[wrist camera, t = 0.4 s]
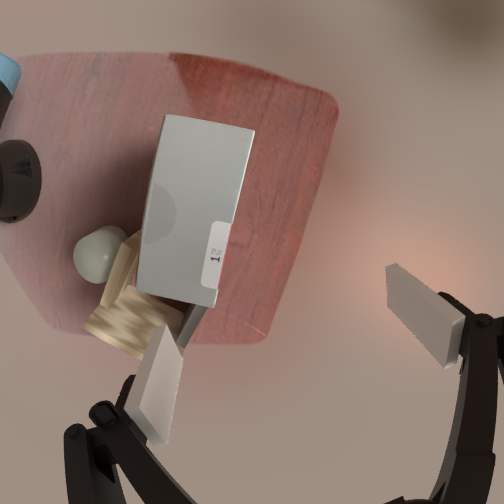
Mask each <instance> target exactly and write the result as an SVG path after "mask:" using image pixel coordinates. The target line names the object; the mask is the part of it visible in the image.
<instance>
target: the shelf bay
mask: <svg viewBox="0 0 504 504" xmlns="http://www.w3.org/2000/svg"><path fill="white" fill-rule="evenodd" d="M140 234H141V229H140V230H139V231H137V232H136V233H135V234H133V235H132V236H130V237H129V238H128V239H126V240H125V241H124V242H122V243H121V246H120V248H119V251H118V254H117V256H116V259H115V261H114V264H113V267H112V270H111V272H110V275H109V278H108V281H107V284H106V287H105V290H104V293H103V296H102V299H101V302H100V304H99V306H98V307H97V308H96V309H95V310H94V311H93V312H92V314H91V315H90V316H89V317H88V318H87V319H86V321H85V322H84V326H83V329H85V330H87V331H88V332H90V333H92V334H93V335H95V336H97V337H98V338H100V339H102V340H104V341H105V342H107V343H109V344H111V345H113V346H114V347H116V348H118V349H120V350H122V351H124V352H126V353H127V354H129V355H131V356H133V357H135V358H137V359H139V360H141V361H142V358H143V356H144V353H145V350H146V348H147V345H148V343H149V341H150V338H151V336H152V333H153V331H154V328H155V327H156V326H161V325H166V324H167V326H168V328H169V330H170V333H171V335H172V337H173V339H174V341H175V344H176V346H177V348H178V350H179V352H180V354H181V356H183V352H184V349H185V347H186V345H187V343H188V342H189V340H190V338H191V336H192V335H193V333H194V331H195V329H196V327H197V326H198V324H199V322H200V320H201V319H202V317H203V315H204V313H205V312H206V310H207V308H208V307H207V306H202V305H197V304H192V303H190V305H189V307H188V309H187V311H186V312H185V313H183V312H181V311H179V310H177V309H175V308H173V307H171V306H169V305H167V304H165V303H163V302H161V301H159V300H157V299H156V298H154V297H152V296H150V295H148V294H146V293H143V292H139V291H137V290H136V288H135V287H133V286H131V285H130V284H129V283H130V281H131V278H132V276H133V274H134V271H135V269H136V266H137V257H138V249H139V241H140Z"/></svg>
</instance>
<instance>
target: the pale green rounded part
mask: <svg viewBox="0 0 504 504" xmlns="http://www.w3.org/2000/svg"><path fill="white" fill-rule="evenodd" d="M126 239H128V236H127V234H126V233H125V232H124V231H123V230H122V229H120V228H119V227H117V226H113V225H107V226H104V227H102V228H100V229H98V230H96V231H94V232H93V233H91V234H89V235H87V236H85V237H84V238H82V239H80V240H79V241H78V242H77V244H76V246H75V248H74V252H73V260H74V264H75V267H76V269H77V271H78V273H79V274H80V275H81V276H82V277H83V278H84V279H85V280H87V281H89V282H91V283H95V284H100V283H104V282H106V281H107V280H108V278H109V275H110V272H111V270H112V267H113V264H114V261H115V259H116V256H117V254H118V251H119V248H120V246H121V243H122V242H124V241H125V240H126Z"/></svg>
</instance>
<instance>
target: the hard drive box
mask: <svg viewBox="0 0 504 504" xmlns="http://www.w3.org/2000/svg"><path fill="white" fill-rule="evenodd" d="M254 134H255V131H254V130H249V129H245V128H240V127H236V126H231V125H226V124H221V123H216V122H211V121H205V120H199V119H194V118H189V117H183V116H177V115H169V114H166V115H165V116H164V118H163V122H162V125H161V129H160V133H159V137H158V142H157V146H156V150H155V155H154V159H153V164H152V169H151V174H150V180H149V185H148V191H147V197H146V202H145V208H144V214H143V220H142V227H141V234H140V241H139V249H138V257H137V266H136V280H135V286H136V290H137V291H139V292H143V293H147V294H152V295H156V296H161V297H166V298H170V299H175V300H179V301H183V302H188V303H192V304H197V305H202V306H207V307H212V308H214V307H215V303H216V299H217V294H218V289H219V285H220V280H221V275H222V271H223V266H224V262H225V257H226V252H227V247H228V243H229V238H230V233H231V229H232V224H233V219H234V215H235V211H236V207H237V203H238V199H239V195H240V191H241V187H242V183H243V179H244V174H245V170H246V166H247V162H248V158H249V154H250V150H251V146H252V142H253V138H254Z"/></svg>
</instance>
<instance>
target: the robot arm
mask: <svg viewBox="0 0 504 504" xmlns="http://www.w3.org/2000/svg"><path fill="white" fill-rule="evenodd" d="M20 77H21V68H20V66H19V64H18V63H17V62H15V61H14V60H12V59H11V58H9V57H8V56H6V55H4V54H2V53H0V128H1V125H2V122H3V120H4V117H5V114H6V111H7V109H8V106H9V104H10V101H11V100H12V99H13V98H14V92H15V89H16V87H17V85H18V82H19V80H20ZM40 190H41V167H40V162H39V159H38V156H37V154H36V152H35V150H34V149H33V147H32V146H31V145H30V144H29V143H27V142H26V141H23V140H7V141H4V142H2V143H1V144H0V222H5V223H13V222H17V221H19V220H22V219H24V218H26V217H27V216H28V215H29V214H30V213H31V212H32V211H33V209H34V207H35V206H36V203H37V201H38V198H39V195H40ZM385 268H386V284H387V306H388V307H389V308H390V309H391V310H392V311H393V313H394V314H395V315H396V316H397V317H398V318H399V319H400V320H401V321H402V322H403V323H404V324H405V325H406V326H407V328H408V329H409V330H410V331H411V332H412V333H413V334H414V335H415V336H416V337H417V339H418V340H419V341H420V342H421V343H422V344H423V345H424V346H425V347H426V349H427V350H428V351H429V352H430V353H431V354H432V355H433V357H434V358H435V359H436V360H437V361H438V362H439V363H440V365H442V367H443V368H444V369H446V368H448V367H450V366H452V365H454V364H456V363H457V359H458V355H459V354H460V355H461V356H462V357H463V361H462V365H461V369H460V373H459V374H461V376H460V384H459V391H458V398H457V403H456V409H455V414H454V419H453V424H452V429H451V433H450V437H449V441H448V445H447V449H446V453H445V456H444V460H443V463H442V467H441V470H440V473H439V476H438V479H437V482H436V484H435V487H434V489H433V491H432V493H431V495H430V498H429V500H426V499H414V500H406V501H405V500H404V498H403V496H401V497H399V498H397V499H395V500H392V501H390V502H387V503H385V504H486V501H487V498H488V494H489V490H490V485H491V481H492V476H493V471H494V466H495V458H496V457H495V454H494V453H493V452H492V449H493V441H494V433H495V424H496V412H497V395H498V367H499V370H500V374H501V377H502V380H503V384H504V316H503V317H499V318H495V319H494V318H493V317H492V316H490V315H488V314H483V313H481V314H475V313H473V312H472V311H471V310H470V309H468V308H467V307H466V306H464V305H463V304H462V303H460V302H459V301H458V300H456V299H455V298H454V297H452V296H451V295H450V294H447V293H444V292H439V293H436V292H434V291H433V290H432V289H430V288H429V287H428V286H427V285H425V284H424V283H423V282H421V281H420V280H419V279H417V278H416V277H415V276H413V275H412V274H410V273H409V272H408V271H406V270H405V269H403V268H402V267H401V266H399V265H398V264H396V263H395V264H392V265H389V266H386V267H385ZM182 365H183V358H182V356H181V354H180V352H179V350H178V348H177V346H176V344H175V341H174V339H173V337H172V335H171V333H170V330H169V328H168V326H167V324H166V325H161V326H156V327H155V328H154V331H153V333H152V336H151V338H150V341H149V343H148V345H147V348H146V350H145V353H144V356H143V358H142V361H141V363H140V366H139V368H138V371H137V374H136V375H130V376H129V377H128V378H127V380H126V381H125V382H124V384H123V387H122V390H121V392H120V396H119V397H118V399H117V402H116V404H115V406H114V405H113V403H111V402H110V401H106V400H105V401H101V402H98V403H96V404H95V405H94V406H93V407H92V408H91V409H90V411H89V418H90V419H91V420H92V421H93V423H94V424H95V425H96V426H97V427H95V428H91V429H86V428H85V427H84V426H83V425H82V424H78V423H77V424H73V425H71V426H70V427H69V428H68V429H67V430H66V431H65V433H64V460H65V475H66V485H67V494H68V501H69V504H126V501H125V497H124V494H123V490H122V487H121V483H120V480H119V476H118V473H117V468H116V464H119V466H120V467H121V469H122V471H123V472H124V474H125V475H126V477H127V478H128V480H129V482H130V483H131V485H132V486H133V487H134V489H135V490H136V492H137V493H138V495H139V496H140V497H141V499H142V500H143V502H144V503H145V504H197V503H196V502H195V501H194V500H193V499H192V498H191V497H190V496H189V495H188V494H187V493H186V492H185V490H184V489H183V488H182V487H181V486H180V485H179V484H178V483H177V482H176V481H175V480H174V478H173V477H172V476H171V475H170V474H169V473H168V472H167V470H166V469H165V468H164V467H163V466H162V465H161V463H160V462H159V461H158V460H157V458H156V457H155V456H154V455H153V454H152V452H151V451H150V450H149V448H147V446H146V441H147V439H148V440H149V441H150V443H151V444H152V445H154V446H156V445H168V439H169V433H170V428H171V422H172V416H173V411H174V405H175V400H176V395H177V390H178V384H179V380H180V375H181V370H182Z"/></svg>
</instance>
